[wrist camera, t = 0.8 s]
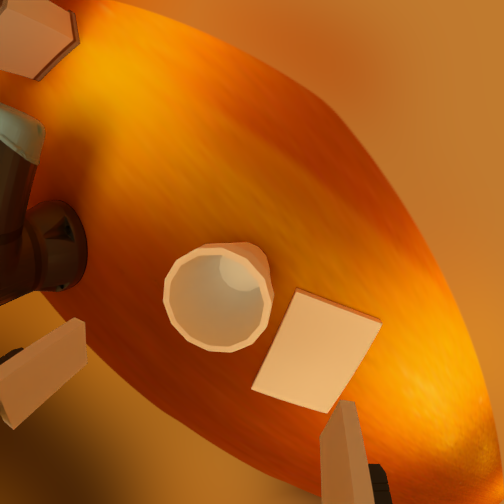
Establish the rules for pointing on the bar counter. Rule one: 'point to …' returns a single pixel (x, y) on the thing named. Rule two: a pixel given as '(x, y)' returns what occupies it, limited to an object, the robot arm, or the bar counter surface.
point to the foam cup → (220, 295)
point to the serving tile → (315, 351)
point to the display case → (35, 36)
